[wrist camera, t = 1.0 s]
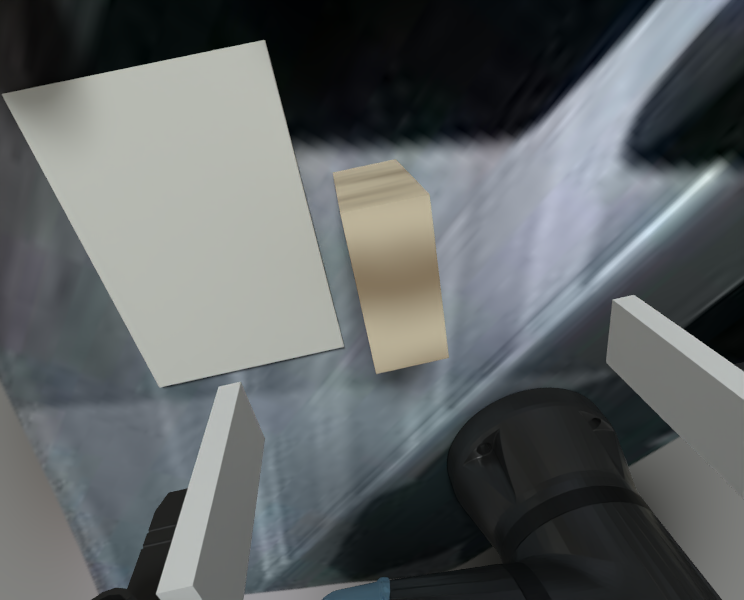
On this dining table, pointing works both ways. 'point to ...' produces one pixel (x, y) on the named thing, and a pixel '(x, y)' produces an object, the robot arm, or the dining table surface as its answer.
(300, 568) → the dining table surface
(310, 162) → the dining table surface
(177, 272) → the placemat
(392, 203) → the slab
